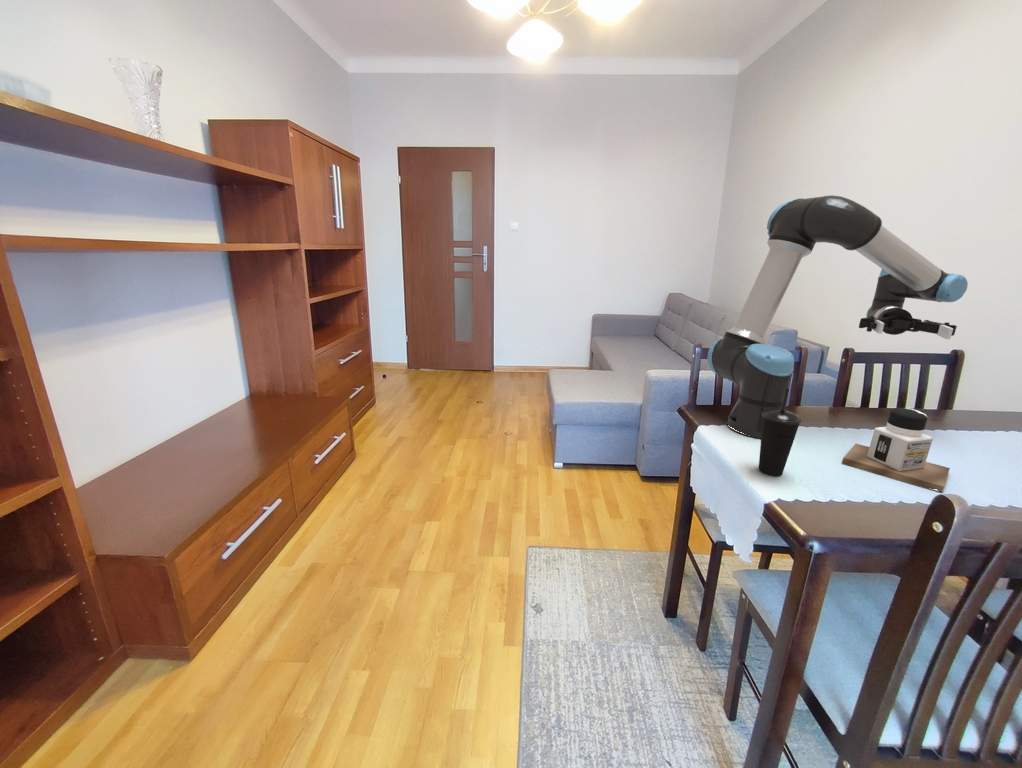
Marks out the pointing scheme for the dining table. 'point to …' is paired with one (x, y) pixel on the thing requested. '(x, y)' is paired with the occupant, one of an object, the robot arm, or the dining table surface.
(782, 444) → the drinking cup
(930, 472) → the serving board
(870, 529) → the dining table surface
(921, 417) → the container
